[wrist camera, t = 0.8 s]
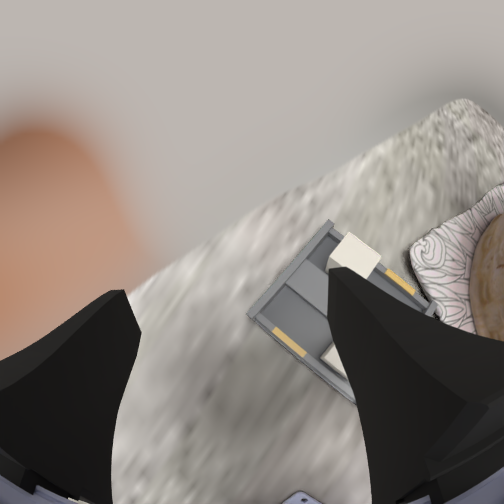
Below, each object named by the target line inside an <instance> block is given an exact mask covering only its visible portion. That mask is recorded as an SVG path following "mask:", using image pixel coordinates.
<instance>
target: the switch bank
mask: <svg viewBox="0 0 504 504" xmlns="http://www.w3.org/2000/svg"><path fill="white" fill-rule="evenodd" d="M333 227H334V223H333V222H332V221H330V220H329V219H328V220H327V222H326V223H325V224H324V225H323V226H322V228H321V229H320V230H319V231H318V232H317V233H316V235H315V236H314V237H313V238H312V239H311V241H310V242H309V243H308V244H307V245H306V246H305V248H304V249H303V250H302V251H301V252H300V253H299V254H298V256H297V257H296V258H295V259H294V260H293V261H292V263H291V264H290V265H289V266H288V267H287V268H286V269H285V271H284V272H283V273H282V274H281V275H280V276H279V277H278V279H277V280H276V281H275V282H274V283H273V284H272V285H271V286H270V288H269V289H268V290H267V291H266V292H265V293H264V294H263V295H262V297H261V298H260V299H259V300H258V301H257V302H256V303H255V304H254V305H253V306H252V308H251V309H250V310H249V311H248V312H247V313H246V314H247V315H248V316H249V317H250V318H251V319H252V320H253V321H255V322H256V323H257V324H258V325H259V326H260V327H261V328H263V329H264V330H265V331H266V332H267V333H268V334H270V335H271V336H272V337H273V338H274V339H275V340H277V341H278V342H279V343H280V344H281V345H282V346H284V347H285V348H286V349H287V350H288V351H289V352H291V353H292V354H293V355H294V356H295V357H297V358H298V359H299V360H300V361H301V362H303V363H304V364H305V365H306V366H308V367H309V368H310V369H311V370H312V371H314V372H315V373H316V374H317V375H319V376H320V377H321V378H322V379H324V380H325V381H326V382H327V383H329V384H330V385H331V386H332V387H334V388H335V389H336V390H337V391H339V392H340V393H341V394H342V395H344V396H345V397H346V398H348V399H349V400H350V401H351V402H353V403H354V404H355V405H357V404H356V400H355V397H354V394H353V391H352V388H351V386H350V383H349V381H347V380H346V379H345V378H344V377H342V376H341V375H340V374H339V373H337V372H336V371H335V370H334V369H332V368H331V367H330V366H329V365H327V364H326V363H325V362H324V361H323V360H321V359H320V357H321V355H322V354H323V353H324V352H325V351H326V350H327V348H328V347H329V346H330V345H331V343H332V342H333V339H332V335H331V331H330V327H329V323H328V319H327V305H328V274H327V273H326V272H325V269H326V266H327V262H328V259H329V256H330V255H331V253H332V252H333V251H334V250H335V248H336V247H337V246H338V245H339V243H340V242H341V241H342V240H343V238H344V236H343V235H342V234H340V233H339V232H337V231H336V230H335V229H333ZM367 280H368V281H370V282H371V283H373V284H374V285H376V286H377V287H379V288H380V289H382V290H383V291H385V292H386V293H388V294H390V295H391V296H393V297H395V298H396V299H398V300H400V301H401V302H403V303H405V304H407V305H408V306H410V307H412V308H414V309H416V310H418V311H419V312H421V313H424V314H426V315H428V316H430V317H431V316H432V315H433V313H434V311H435V309H436V308H437V306H438V304H437V303H436V302H435V301H434V300H432V301H430V302H427V301H426V300H425V299H424V298H423V297H421V296H420V295H419V294H418V293H417V292H415V291H416V290H415V289H413V288H412V287H411V286H410V285H408V284H407V283H406V282H405V281H404V280H402V279H401V278H400V277H399V276H397V275H396V274H395V273H394V272H392V271H391V270H390V269H387V268H385V267H384V266H383V265H382V264H380V263H379V262H378V263H377V265H376V266H375V268H374V269H373V271H372V272H371V273H370V275H369V276H368V278H367Z"/></svg>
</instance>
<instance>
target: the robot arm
mask: <svg viewBox="0 0 504 504" xmlns="http://www.w3.org/2000/svg"><path fill="white" fill-rule="evenodd" d="M327 319H328V323H329V327H330V331H331V335H332V339H333V342H334V344H335V347H336V350H337V352H338V355H339V357H340V360H341V362H342V365H343V367H344V370H345V373H346V375H347V378H348V380H349V383H350V386H351V388H352V391H353V394H354V397H355V400H356V404H357V408H358V412H359V417H360V421H361V425H362V430H363V436H364V441H365V446H366V452H367V459H368V466H369V473H370V483H371V494H372V504H504V341H499V340H495V339H491V338H488V337H484V336H480V335H477V334H473V333H470V332H467V331H464V330H462V329H459V328H456V327H453V326H451V325H448V324H446V323H443V322H441V321H438V320H436V319H434V318H432V317H430V316H428V315H426V314H424V313H421V312H419V311H418V310H416V309H414V308H412V307H410V306H408V305H407V304H405V303H403V302H401V301H400V300H398V299H396V298H395V297H393V296H391V295H390V294H388V293H386V292H385V291H383V290H382V289H380V288H379V287H377V286H376V285H374V284H373V283H371V282H370V281H368V280H367V279H365V278H364V277H362V276H361V275H359V274H357V273H356V272H354V271H353V270H351V269H350V268H348V267H346V266H345V267H337V268H330V269H329V272H328V305H327ZM141 333H142V332H141V330H140V328H139V326H138V323H137V321H136V318H135V316H134V314H133V311H132V309H131V306H130V304H129V301H128V299H127V296H126V293H125V291H124V290H111V291H108V292H107V293H105V294H103V295H101V296H100V297H99V298H97V299H96V300H94V301H93V302H91V303H90V304H89V305H87V306H86V307H84V308H83V309H82V310H81V311H79V312H78V313H76V314H75V315H74V316H72V317H71V318H70V319H68V320H67V321H65V322H64V323H63V324H61V325H60V326H58V327H57V328H56V329H54V330H53V331H51V332H50V333H49V334H47V335H46V336H44V337H43V338H41V339H40V340H38V341H37V342H35V343H33V344H32V345H30V346H28V347H27V348H25V349H23V350H21V351H19V352H17V353H15V354H13V355H11V356H9V357H7V358H5V359H3V360H1V361H0V504H78V503H76V502H73V501H71V500H68V497H69V498H72V499H74V500H77V501H78V500H81V501H84V502H87V503H89V504H113V501H112V487H111V461H112V447H113V438H114V431H115V425H116V419H117V414H118V410H119V406H120V403H121V400H122V397H123V394H124V391H125V388H126V385H127V382H128V379H129V376H130V374H131V371H132V368H133V365H134V362H135V359H136V356H137V352H138V348H139V343H140V338H141ZM303 498H307V500H305V501H303V500H302V499H303ZM282 504H322V503H320V502H319V501H317V500H315V499H314V498H312V497H311V496H309V495H307V494H306V493H304V492H297V493H295V494H294V495H293V496H291V497H290V498H289V499H287V500H286V501H285V502H283V503H282Z"/></svg>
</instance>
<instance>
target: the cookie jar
mask: <svg viewBox="0 0 504 504" xmlns="http://www.w3.org/2000/svg"><path fill="white" fill-rule="evenodd" d="M409 251H410V259H411V265H412V267H413V270H414V272H415V274H416V277H417V279H418V281H419V283H420V285H421V287H422V289H423V292H424V293H425V295H426V297H427V298H428V300H429V302H430V301H432V300H434V301H435V302H436V303H437V304H438V306H437V308H436V309H435V313H436V315H437V316H438V318H439V321H441V322H443V323H446V324H448V325H451V326H453V327H456V328H459V329H462V330H464V331H467V332H470V333H473V334H477V335H480V336H484V337H488V338H491V339H495V340H499V341H504V184H502V185H498V186H495V187H494V188H492V189H491V190H490V191H489V192H488V193H486V194H485V196H484V197H483V198H482V199H481V200H480V201H479V202H477V203H476V204H475V205H474V206H473V207H472V209H470V210H467V211H465V212H463V213H461V214H460V215H456V216H455V217H453V218H452V219H450V220H447V221H445V222H444V223H442V226H441V227H440V228H436V229H434V228H432V229H431V230H430V231H429V232H428V233H427V235H424V236H423V237H422V238H421V239H420V240H417V241H416V242H415V243H414V244H413V245H412V246H411V247H410V248H409Z"/></svg>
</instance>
